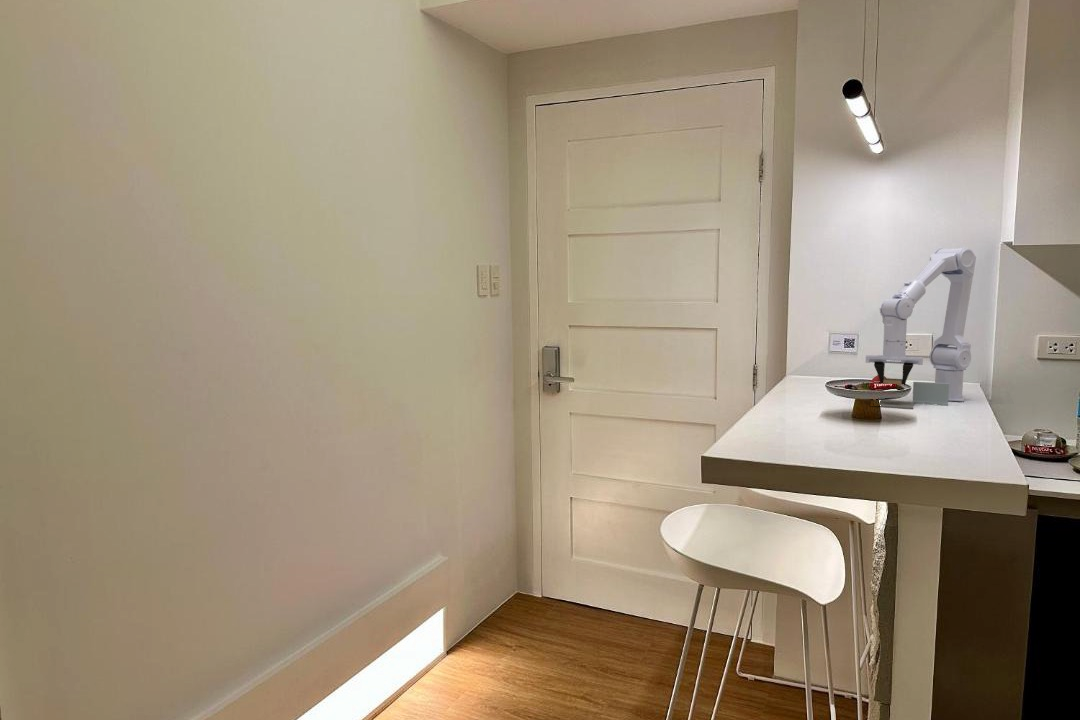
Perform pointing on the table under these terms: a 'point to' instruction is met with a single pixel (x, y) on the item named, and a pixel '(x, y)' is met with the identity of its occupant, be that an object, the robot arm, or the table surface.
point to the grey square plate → (897, 404)
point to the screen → (930, 393)
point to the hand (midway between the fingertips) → (892, 388)
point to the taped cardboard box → (892, 381)
